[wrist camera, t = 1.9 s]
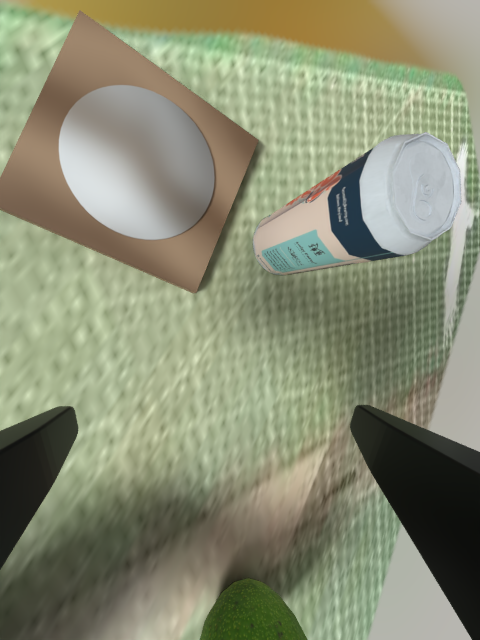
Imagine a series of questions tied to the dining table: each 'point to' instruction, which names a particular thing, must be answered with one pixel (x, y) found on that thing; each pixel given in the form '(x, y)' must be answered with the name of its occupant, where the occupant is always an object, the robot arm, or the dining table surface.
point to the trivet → (126, 160)
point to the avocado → (251, 615)
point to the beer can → (366, 209)
